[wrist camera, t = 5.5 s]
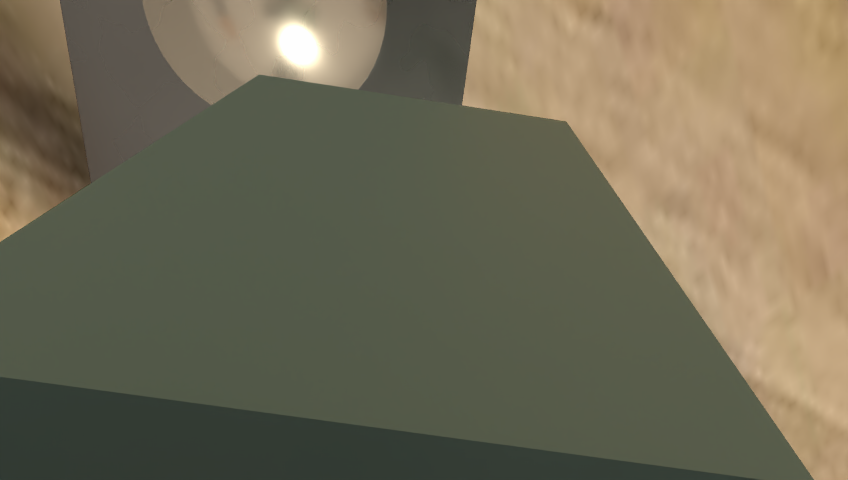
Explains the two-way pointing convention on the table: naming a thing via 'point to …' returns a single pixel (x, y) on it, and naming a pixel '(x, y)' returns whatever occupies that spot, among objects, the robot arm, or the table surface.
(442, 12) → the press bed
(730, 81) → the table surface
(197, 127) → the block
